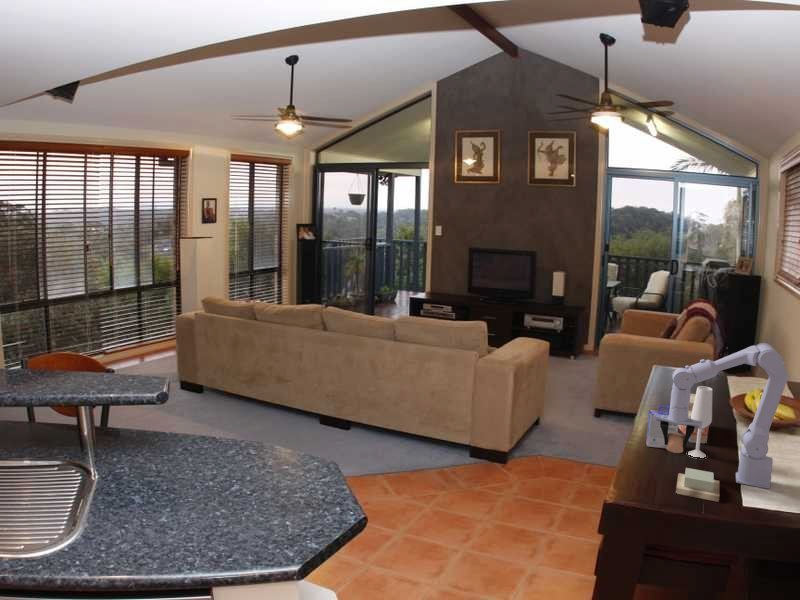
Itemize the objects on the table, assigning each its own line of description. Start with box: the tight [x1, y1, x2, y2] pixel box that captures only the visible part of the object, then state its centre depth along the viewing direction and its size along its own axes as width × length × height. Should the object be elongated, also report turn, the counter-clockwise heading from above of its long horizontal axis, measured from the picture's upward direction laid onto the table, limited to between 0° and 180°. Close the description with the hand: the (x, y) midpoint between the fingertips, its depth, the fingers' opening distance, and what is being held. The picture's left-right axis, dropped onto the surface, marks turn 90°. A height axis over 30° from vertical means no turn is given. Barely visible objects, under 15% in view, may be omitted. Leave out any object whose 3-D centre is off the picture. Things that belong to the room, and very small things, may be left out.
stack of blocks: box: [678, 393, 710, 444], centre depth 271 cm, size 21×6×12 cm, turn 173°
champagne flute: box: [687, 385, 713, 458], centre depth 249 cm, size 7×7×24 cm
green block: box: [684, 467, 715, 492], centre depth 223 cm, size 8×8×3 cm
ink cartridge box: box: [645, 404, 679, 449], centre depth 257 cm, size 10×6×14 cm, turn 79°
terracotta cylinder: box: [665, 432, 685, 454], centre depth 235 cm, size 5×5×5 cm
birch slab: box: [675, 472, 720, 503], centre depth 223 cm, size 12×12×2 cm
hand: (675, 445), depth 236 cm, fingers closed on terracotta cylinder, 5 cm apart
